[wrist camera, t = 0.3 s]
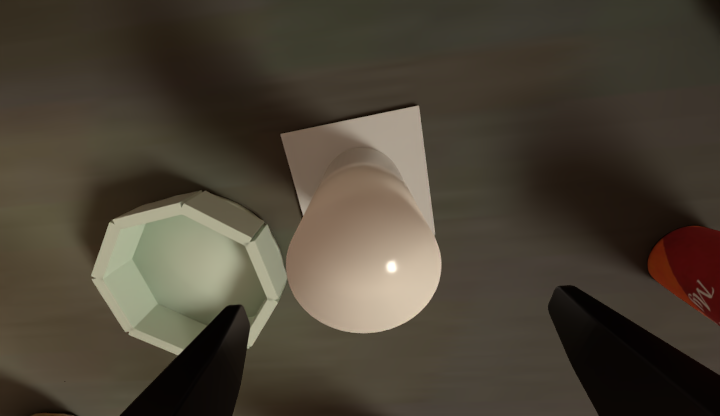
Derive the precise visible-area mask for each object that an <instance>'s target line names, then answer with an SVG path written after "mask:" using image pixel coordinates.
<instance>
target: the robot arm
mask: <svg viewBox="0 0 720 416" xmlns="http://www.w3.org/2000/svg"><path fill="white" fill-rule="evenodd" d="M548 310H549V314H550V316H551V319H552V321H553V323H554V326H555V328H556V330H557V333H558V335H559V337H560V340H561V342H562V344H563V347H564V349H565V352H566V354H567V356H568V358H569V361H570V363H571V365H572V367H573V369H574V371H575V373H576V375H577V376H578V378H579V380H580V382H581V384H582V386H583V387H584V389H585V391H586V393H587V395H588V397H589V398H590V400H591V402H592V404H593V406H594V408H595V409H596V411H597V413H598V415H599V416H720V375H718V374H717V373H715V372H713V371H712V370H710V369H709V368H707V367H705V366H704V365H702V364H700V363H699V362H697V361H696V360H694V359H692V358H691V357H689V356H687V355H686V354H684V353H683V352H681V351H679V350H678V349H676V348H674V347H673V346H671V345H669V344H668V343H666V342H665V341H663V340H661V339H660V338H658V337H656V336H655V335H653V334H652V333H650V332H648V331H647V330H645V329H643V328H642V327H640V326H639V325H637V324H635V323H634V322H632V321H630V320H629V319H627V318H626V317H624V316H622V315H621V314H619V313H617V312H616V311H614V310H613V309H611V308H609V307H608V306H606V305H604V304H603V303H601V302H600V301H598V300H596V299H595V298H593V297H591V296H590V295H588V294H587V293H585V292H583V291H582V290H580V289H578V288H577V287H575V286H572V285H566V286H558V287H556V288H555V290H554V293H553V295H552V297H551V300H550V302H549V304H548ZM249 333H250V322H249V319H248V317H247V314H246V311H245V309H244V306H243V305H241V304H236V305H228V306H226V307H225V308H224V309H223V310H222V311H221V312H220V313H219V314H218V315H217V316H216V317H215V318H214V319H213V320H212V321H211V322H210V323H209V324H208V325H207V326H206V327H205V328H204V329H203V330H202V331H201V332H200V334H199V335H198V336H197V337H196V338H195V339H194V340H193V341H192V342H191V343H190V344H189V345H188V346H187V347H186V348H185V349H184V350H183V351H182V352H181V353H180V354H179V355H178V356H177V357H176V358H175V359H174V360H173V361H172V362H171V363H170V364H169V365H168V366H167V367H166V368H165V369H164V370H163V371H162V373H161V374H160V375H159V376H158V377H157V378H156V379H155V380H154V381H153V382H152V383H151V384H150V385H149V386H148V387H147V388H146V389H145V390H144V391H143V392H142V393H141V394H140V395H139V396H138V397H137V398H136V399H135V400H134V401H133V402H132V403H131V404H130V405H129V406H128V407H127V408H126V409H125V411H124V412H123V413H122V414H121V415H120V416H232V415H233V411H234V407H235V404H236V400H237V397H238V393H239V389H240V385H241V380H242V374H243V368H244V362H245V356H246V350H247V345H248V339H249Z"/></svg>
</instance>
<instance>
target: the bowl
mask: <svg viewBox="0 0 720 416" xmlns="http://www.w3.org/2000/svg"><path fill="white" fill-rule="evenodd" d="M112 220H113V221H111V222H109V225H108V228H107V231H106V234H105V237H104V240H103V242H102V245H101V248H100V251H99V254H98V257H97V260H96V263H95V266H94V269H93V272H92V275H91V276H92V277H94V278H93V279H92V281H93V282H94V284H95V286H96V287H97V289H98V290H99V292H100V293H101V295H102V297H103V298H104V300H105V301H106V303H107V304H108V306H109V308H110V309H111V311H112V312H113V314H114V315H115V317H116V318H117V320H118V322H119V323H120V325H121V326H122V328H123V329H124V331H125V332H128V331H130V332H129V334H128V335H130V336H133V337H135V338H138V339H140V340H142V341H145V342H147V343H150V344H152V345H154V346H157V347H159V348H162V349H164V350H166V351H169V352H171V353H174V354H176V355H179V354H180V353H181V352H182V351H183V350H184V349H185V348H186V347H187V346H188V345H189V344H190V343H191V342H192V341H193V340H194V339H195V338H196V337H197V336H198V335H199V334H200V332H201V331H202V330H203V329H204V328H205V327H206V326H207V325H208V324H209V323H210V322H211V321H212V320H213V319H214V318H215V317H216V316H217V315H218V314H219V313H220V312H221V311H222V310H223V309H224V308H225V307H226V306H228V305H236V304H241V305H243V306H244V309H245V311H246V314H247V317H248V319H249V322H250V333H249V339H248V345H247V349H248V348H249V347H250V346H251V347H252V345H253V343H254V342H255V340H256V338H257V337H258V335H259V333H260V332H261V330H262V328H263V327H264V325H265V323H266V322H267V320H268V318H269V317H270V315H271V313H272V312H273V310H274V308H275V307H276V305H277V303H278V302H279V299H280V297H281V294H282V292H283V289H284V287H285V284H286V282H287V274H286V271H285V269H284V264H283V257H282V254H281V250H280V247H279V245H278V243H277V241H276V239H275V237H274V236H273V234H272V233H271V231H270V230H269V227H268V224H266V225H265V224H264V222H265V221H263V220H261V219H259V218H258V217H257V216H256V215H255V214H254V213H252V212H251V211H250V210H248V209H247V208H245V207H243V206H242V205H240V204H238V203H236V202H234V201H232V200H229V199H226V198H223V197H220V196H216V195H213V194H211V193H209V192H207V191H204V192H202V190H200V191H196V192H192V193H186V194H181V195H176V196H173V197H170V198H167V199H164V200H160V201H157V202H153V203H149V204H145V205H142V206H140V207H137V208H135V209H133V210H131V211H129V212H127V213H125V214H123V215H121V216H119V217H117V218H115V219H112Z"/></svg>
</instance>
